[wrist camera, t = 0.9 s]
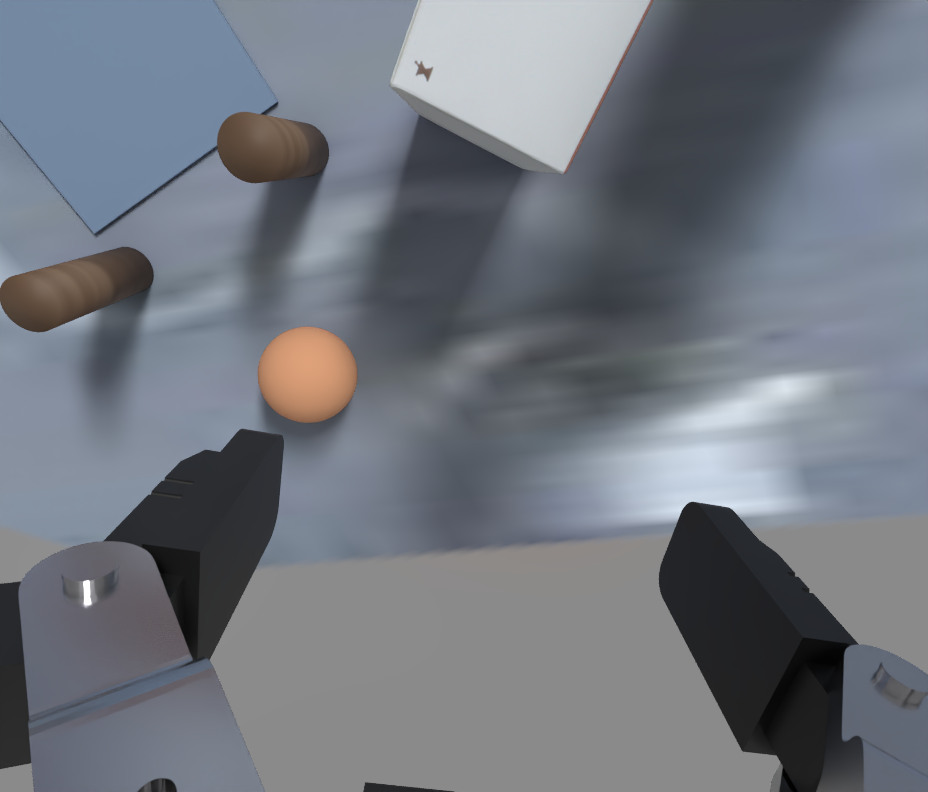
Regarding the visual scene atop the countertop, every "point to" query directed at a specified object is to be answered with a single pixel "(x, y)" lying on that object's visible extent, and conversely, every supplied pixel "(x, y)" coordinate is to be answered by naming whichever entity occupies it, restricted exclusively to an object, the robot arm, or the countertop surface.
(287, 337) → the ball
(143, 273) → the post
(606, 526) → the countertop surface
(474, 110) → the small box
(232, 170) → the post
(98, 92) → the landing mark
